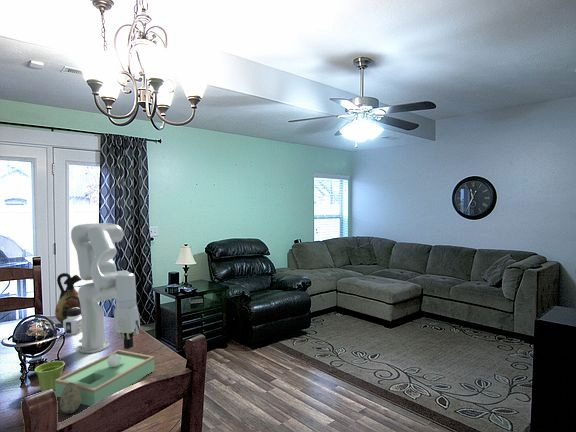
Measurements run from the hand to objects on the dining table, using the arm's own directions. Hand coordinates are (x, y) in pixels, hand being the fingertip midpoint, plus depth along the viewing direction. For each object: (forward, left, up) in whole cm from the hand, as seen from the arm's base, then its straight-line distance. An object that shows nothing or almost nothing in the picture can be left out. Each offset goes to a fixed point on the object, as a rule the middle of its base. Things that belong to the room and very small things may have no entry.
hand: (128, 347), depth 147 cm
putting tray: (-1, -10, -10) cm, 14 cm away
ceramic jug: (-81, +32, -10) cm, 87 cm away
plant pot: (-18, -21, -10) cm, 29 cm away
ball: (-1, -7, -3) cm, 7 cm away
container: (-66, +24, -10) cm, 71 cm away
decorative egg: (+4, -29, -10) cm, 31 cm away
